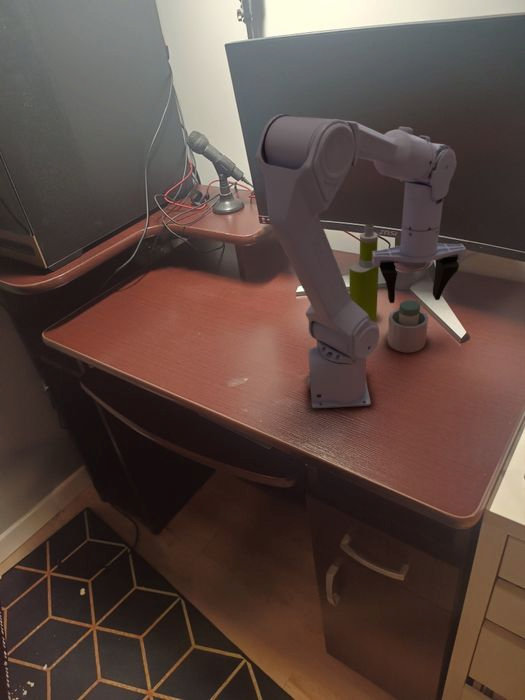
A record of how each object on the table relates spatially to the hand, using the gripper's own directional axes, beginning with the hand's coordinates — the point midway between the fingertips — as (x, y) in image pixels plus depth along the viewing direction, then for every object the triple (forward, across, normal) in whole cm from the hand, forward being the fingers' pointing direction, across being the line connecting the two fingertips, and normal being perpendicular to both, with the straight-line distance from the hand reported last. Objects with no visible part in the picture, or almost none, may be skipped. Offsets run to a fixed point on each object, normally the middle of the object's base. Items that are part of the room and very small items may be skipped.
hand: (413, 298), depth 81 cm
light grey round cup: (+10, 0, -1) cm, 10 cm away
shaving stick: (+9, 0, -1) cm, 9 cm away
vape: (+10, +7, -9) cm, 15 cm away
